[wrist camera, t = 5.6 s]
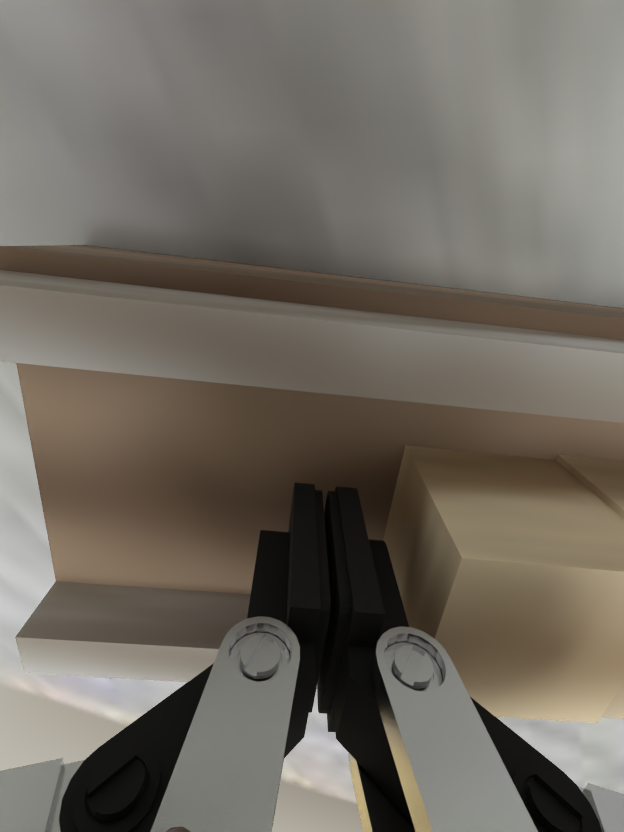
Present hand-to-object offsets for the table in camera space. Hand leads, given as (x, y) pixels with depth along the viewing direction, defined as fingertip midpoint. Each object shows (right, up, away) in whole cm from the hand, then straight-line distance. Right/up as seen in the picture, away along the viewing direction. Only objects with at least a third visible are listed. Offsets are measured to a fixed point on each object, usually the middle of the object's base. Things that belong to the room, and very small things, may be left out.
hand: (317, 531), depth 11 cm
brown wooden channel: (+3, +2, +5) cm, 6 cm away
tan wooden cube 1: (+4, 0, +1) cm, 5 cm away
